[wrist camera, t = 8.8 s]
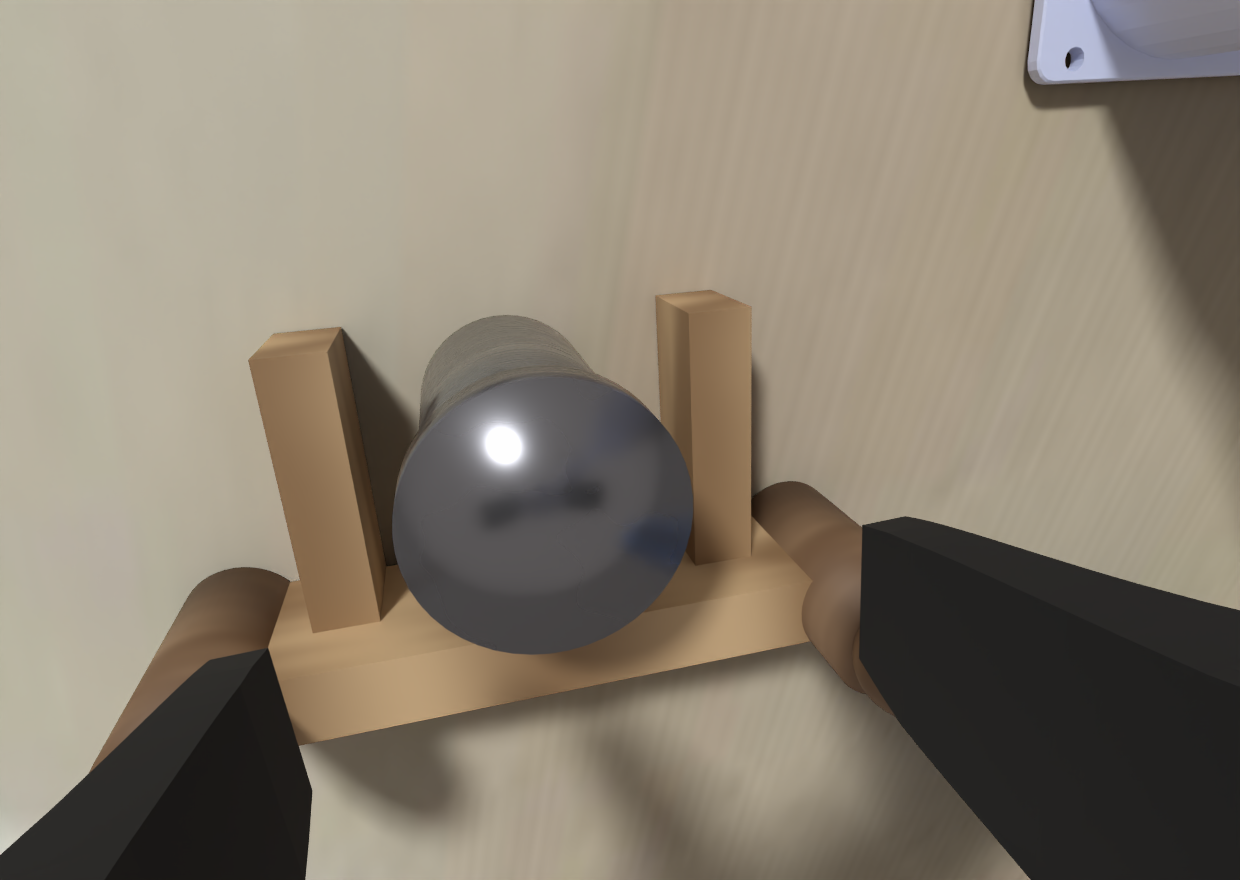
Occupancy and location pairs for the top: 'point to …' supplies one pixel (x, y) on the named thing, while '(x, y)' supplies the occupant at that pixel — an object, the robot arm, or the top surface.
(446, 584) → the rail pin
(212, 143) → the top surface
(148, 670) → the wooden rack
